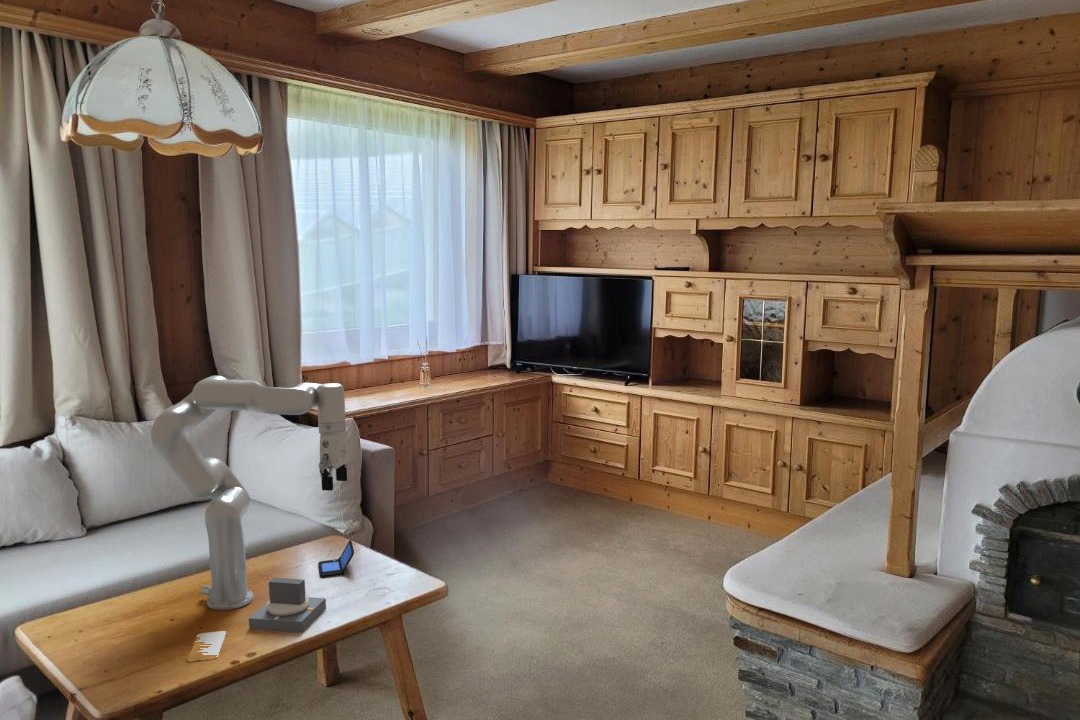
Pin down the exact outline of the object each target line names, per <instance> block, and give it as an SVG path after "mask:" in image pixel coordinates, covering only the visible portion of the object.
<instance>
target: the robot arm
mask: <svg viewBox="0 0 1080 720" xmlns="http://www.w3.org/2000/svg"><path fill="white" fill-rule="evenodd" d="M345 401H346V399H345V387H344V385H342V384H341V383H337V382H336V383H335V382H332V383H331V382H329V383H323V384H321V383H314V382H301V383H298V384H297V385H296V386H294V387H273V386H266V385H263V384H260V383H259V382H258V381H256V380H250V379H249V380H248V379H227V378H226V377H224V376H222V375H210V376H209V377H205V378H204V379H202V380H199V381H198V382H197V383H196V384H195V385H194V386H193V388H192V392H190V393H189V394H188V395H187V396H185V397H184V398H183V399H182V400H181V401H179V402H177V403H175V404H174V405H171V406H170V407H168V408H166V409H164V410H162V411H161V412H160V414H159V415H158V416H157V417H156V418H155V420H154V422H153V424H152V427H151V430H150V439H151V440H150V441H151V445H152V446H153V448H154V450H155V451H156V453H157V454H158V456H160V457H161V459H162V460H163V461H164V462H165V463H166V465H167V466H168V467H169V469H170V470H171V471H172V473H173V474H174V475H175V477H176V478H177V479H178V481H179V482H180V483H181V484H182V486H183V487H184V489H186V491H187V492H188V493H189V494H190V495H191V496H192V497H194V498H196V499H205V498H208V497H210V499H211V500H210V502H209V503H208V505H207V506H206V508H205V510H204V525H205V528H206V532H207V533H206V534H207V539H208V541H207V542H208V551H209V563H210V565H209V566H210V580H211V585H209V584H202V586H201V589H200V595H204V596H206V595H207V596H208V598H207V600H206V606H207V607H208V608H209V609H212V610H216V611H230V610H234V609H239V608H241V607H244V606H246V605H248V604H250V603H252V601H253V600H254V598H255V597H254V592H253V591H252V590H249V589H248V579H247V578H248V576H247V575H248V574H247V559H246V547H245V546H246V544H245V534H244V530H243V525H242V518H243V517H244V516H245V514H247V512H248V510H249V508H250V507H251V506H250V505H251V498H250V494H249V493H248V491H247V490H246V488H245V487H244V485H243V484H242V483H241V482H240V480H239V479H238V478H237V476H235V474H234V472H232V470H231V469H230V468H229V466H228V465H227V464H226V463H225V462H224V461H222V460H221V459H219V458H215V457H211V456H210V457H205V458H204V457H203V455H202V454H201V453H200V452H199V450H198V449H197V447H196V446H194V444H192V443H191V442H190V441H189V440H188V439H187V438H186V434H187V433H189V432H190V431H192V430H193V429H195V428H197V427H198V426H200V424H202V423H203V422H204V421H206V419H207V418H209V417H210V416H211V415H212V414H214V413H215V412H216V411H217V410H219V411H220V410H221V411H222V410H223V411H226V410H227V411H250V412H255V413H262V414H268V415H283V416H286V415H287V416H294V415H295V416H298V415H299V416H300V415H304V414H306V413H308V412H309V411H310V410H311V409H313V408H317V418H318V419H317V420H318V422H317V423H318V424H317V425H318V434H320V435H319V436H320V438H319V464H318V468H319V474H320V478H321V490H322V491H330V492H331V491H333V490H334V477H333V476H332V475H333V471H334V469H335V479H336V481H337V482H347V481H348V462H349V460H350V455H349V453H350V452H349V443H348V435H347V427H346V425H347V424H346V423H347V422H346V404H345V403H346V402H345Z"/></svg>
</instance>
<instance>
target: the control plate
mask: <svg viewBox="0 0 1080 720" xmlns="http://www.w3.org/2000/svg"><path fill="white" fill-rule="evenodd" d="M307 597H308V598H309V606H308V607H307V608H306V609H305V610H304V611H302V612H299V613H296V614H292V615H286V616H277V615H272V614H270V613H268V612H267V602H266V603H265V604H264V605H262V606H261V607H260V608H259V609H258V610H257V611H255V612H254V613H253V614H252V615H251V616H249V617H248V628H249V630H257V631H259V630H260V631H275V632H287V633H289V632H290V633H303V632H304V631H305V630H307V628H308V627H309V626H310V625H311V624H312V623H313V622H314V621H316V619H317V618H318V617H319V616H320V615H321V614H322V613H323V612H324V611H326V609H327V604H326V603H327V602H326V599H327V598H325V597H315V596H312V597H311V596H307Z"/></svg>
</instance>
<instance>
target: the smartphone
mask: <svg viewBox="0 0 1080 720" xmlns="http://www.w3.org/2000/svg"><path fill="white" fill-rule="evenodd" d="M225 635H226V636H227V631H226V630H221V631H220V630H219V631H212V632H211V631H210V632H202V633H198V634H197V635H196V637H200V640H198V641H195V640H194V642H205V643H204V644H212V645H200V646H210V647H208V648H200V649H203V650H201V651H198V652H208V653H202V654H203V655H217V656H216V657H218V658H219V656H220V653H221V650H222V647H223V645H222V644H224V642H225V639H226V636H225ZM224 638H225V639H224ZM223 641H224V642H223ZM220 649H221V650H220ZM219 652H220V653H219ZM218 655H219V656H218Z"/></svg>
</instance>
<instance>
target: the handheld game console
mask: <svg viewBox="0 0 1080 720" xmlns="http://www.w3.org/2000/svg"><path fill="white" fill-rule="evenodd" d="M354 554H355V550H354V545H353V542H352V539H350V540H348V543H347V544H346V546H345V548H344V549H343V551H342V553H341V555H340V556H339V557H338V558H337V559H335V558H334V559H329V560H328V559H327V560H321V561H318V572H319V577H320V578H321V579H324V578H325V577H326V578H332V577H333V576H334V577H341V576H340V575H342V576H345V571H346V569H347V568H348V566H349V564H350V562H351V560H352V558H354ZM334 577H333V578H334Z"/></svg>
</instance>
